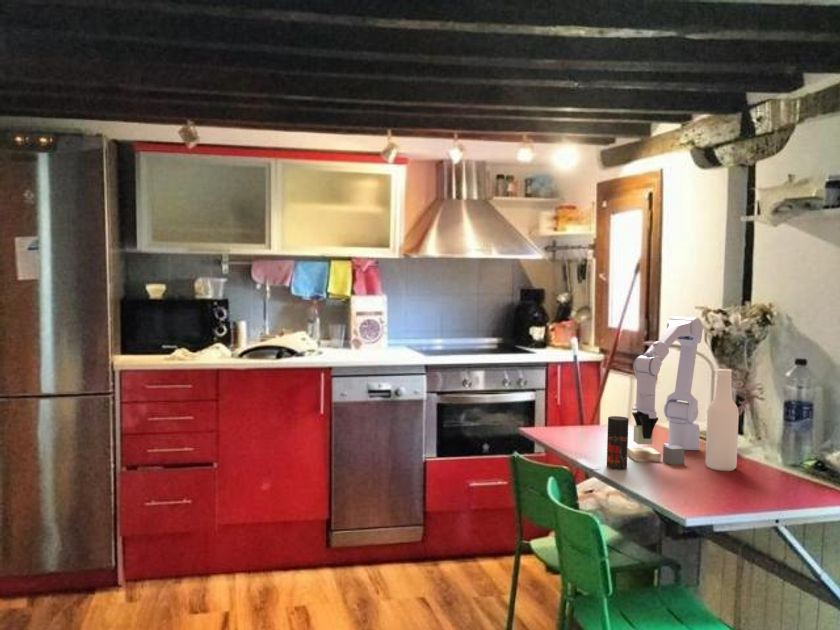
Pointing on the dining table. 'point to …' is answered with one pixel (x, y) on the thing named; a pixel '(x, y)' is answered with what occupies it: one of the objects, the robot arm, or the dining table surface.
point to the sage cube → (641, 436)
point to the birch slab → (644, 454)
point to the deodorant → (617, 442)
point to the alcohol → (722, 426)
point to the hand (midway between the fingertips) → (644, 436)
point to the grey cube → (673, 454)
